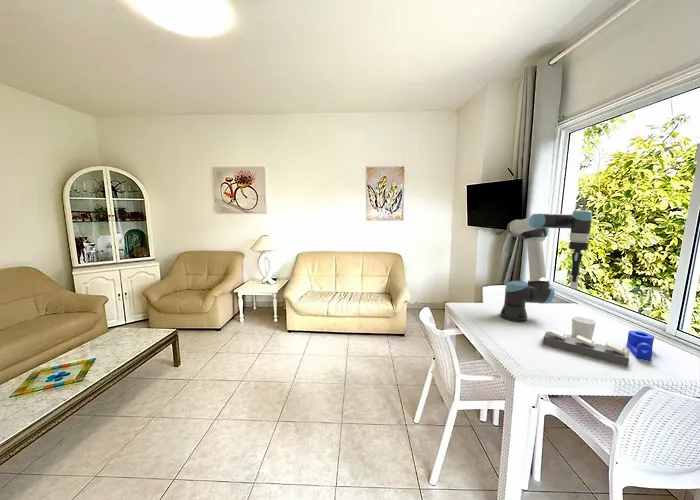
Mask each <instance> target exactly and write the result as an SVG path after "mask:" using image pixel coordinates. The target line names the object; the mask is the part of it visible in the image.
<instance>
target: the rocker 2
mask: <svg viewBox="0 0 700 500" xmlns="http://www.w3.org/2000/svg"><path fill="white" fill-rule="evenodd" d="M575 339H576V340H578V341H580V342H583V343H585V344H587V345H589V346H592V347H594V345H595V343H596V342H595V341H593V339H592V340H589V339H587V338H584V337H582V336H580V335H577V337H576V338H575Z"/></svg>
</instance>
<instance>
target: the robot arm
mask: <svg viewBox="0 0 700 500" xmlns="http://www.w3.org/2000/svg"><path fill="white" fill-rule="evenodd" d="M592 214H593V212H592V210H583V209H582V210H574V211H573V212H572V213H532V214H531V215H530V217H527V218H523V219H514V220H511V221H509V223H507V226H506V230H507V233H508V234H509V235H511V236H512V237H515V238H523V241H524V242H525V243H526V247H527V259H528V270H529V272H528V273H529V279H528V280H527V281H525V280H524V281H523V280H511V281H508V282H507V283H506V284H505V290H504V291H505V292H504V303H503V304H504V305H502V308H501V310H500V317H501V318H503V319H504V320H508V321H510V322H519V323H521V322H526V321H528V313H527V309H526V303H527V304H529V303H530V304H549V303H551V302H552V301H554V300H553V299H554V298H555V293H556V291H555V287H554V286H553V285H552V284H550V281H549V280H548V279H547V277H546V266H545V255H544V245H543V244H544V243H543V242H544V241H545V240H546V238H547V237H548V235H549V232H550V231H549V229H569V230H570V234H569V241H570V242H569V243H568V244H569V245H568V249H569V250H574V252H572V254H571V258H572V259H571V261H572V264H571V273H569V275H570V276H571V278H570V285H569V287H570V288H573V289H578V284H579V283H578V281H579V276H581V273H580V268H581V266H580V265H581V262H582V260H583V258H582V257H583V256H584V253H582V251H588V249H589V241H590V238H591V237H592V236H591V234H590V233H591V226H592V220H593V215H592Z"/></svg>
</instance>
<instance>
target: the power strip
mask: <svg viewBox="0 0 700 500" xmlns="http://www.w3.org/2000/svg"><path fill="white" fill-rule="evenodd" d="M549 332H550V331H546V332H545V334H544V336H543V338H542V345H543V346H548V347H552V348H555V349H559V350H562V351H567V352H571V353H574V354H577V355H582V356H586V357H588V358H593V359H597V360H601V361H604V362H607V363H610V364H611V363H612V364H615V365H619V366H622V365H624V366H623V367H626V366H628V367H629V364H630V363H629V361H630V352H629V351H630V350H629V351H628V350H626V354H625V355H624V354H622V353H619V352H617V351H614V350H612V349H609V348H607V347H605V346H606V344H604V345H603V344H601V343H600V344H599V343H596V342H595V345H594V347H592V346H589V345H587V344H585V343H583V342H580V341H578V340H576V338H574V337H572V336H566V339H565V340H564V339H561V338H559V337H557V336H554V335H552V334H550V333H549Z"/></svg>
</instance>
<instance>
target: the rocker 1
mask: <svg viewBox="0 0 700 500" xmlns="http://www.w3.org/2000/svg"><path fill="white" fill-rule="evenodd" d="M548 332H549V333H550V334H552V335H554V336H557V337H559V338H561V339H564V340H565V339H566V336H567V334H565V333H563V332H560V331H558V330H555V329H553V328H550V330H549V331H548ZM567 337H568V336H567Z"/></svg>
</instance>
